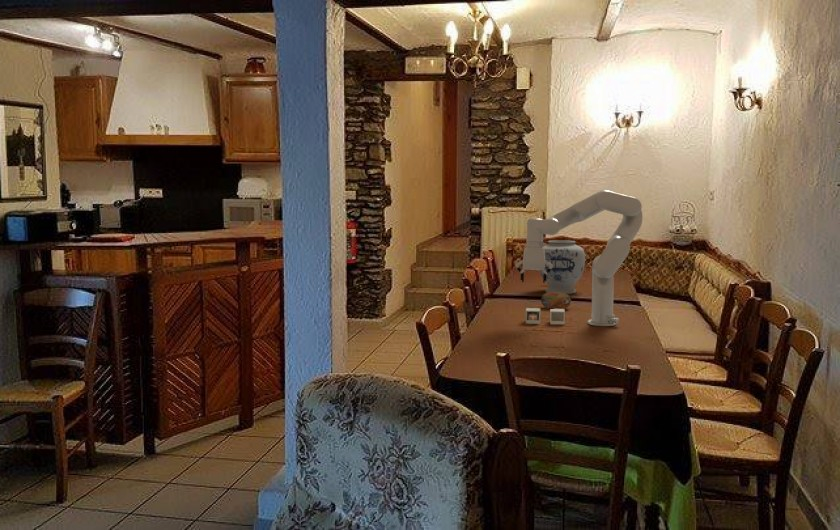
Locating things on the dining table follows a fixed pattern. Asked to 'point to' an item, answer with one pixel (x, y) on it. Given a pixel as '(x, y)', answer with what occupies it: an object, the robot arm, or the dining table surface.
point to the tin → (556, 300)
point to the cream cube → (557, 316)
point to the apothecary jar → (563, 265)
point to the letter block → (532, 316)
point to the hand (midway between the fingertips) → (533, 282)
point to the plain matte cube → (533, 310)
